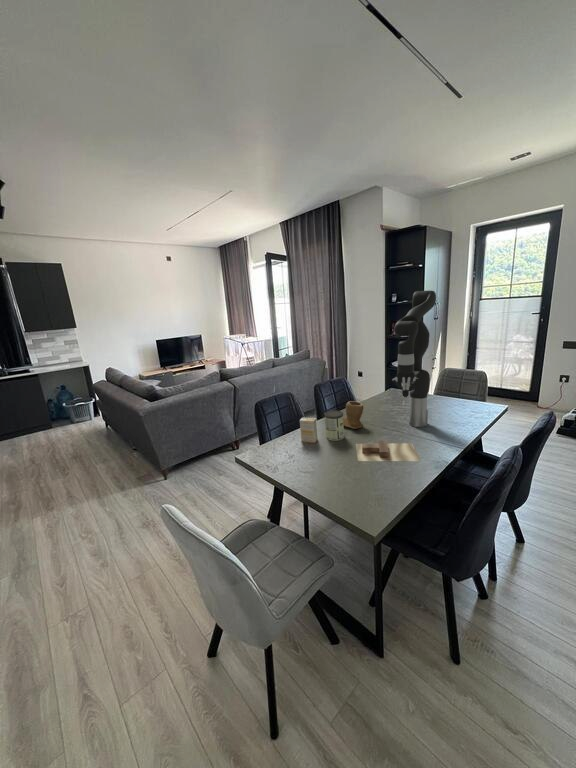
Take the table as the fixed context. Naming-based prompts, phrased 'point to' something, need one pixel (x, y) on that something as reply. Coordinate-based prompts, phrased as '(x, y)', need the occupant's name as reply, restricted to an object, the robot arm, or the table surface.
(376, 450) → the t block
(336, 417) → the coffee can
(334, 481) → the table surface
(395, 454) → the board
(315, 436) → the supplement box
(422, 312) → the robot arm
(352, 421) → the terracotta vase
